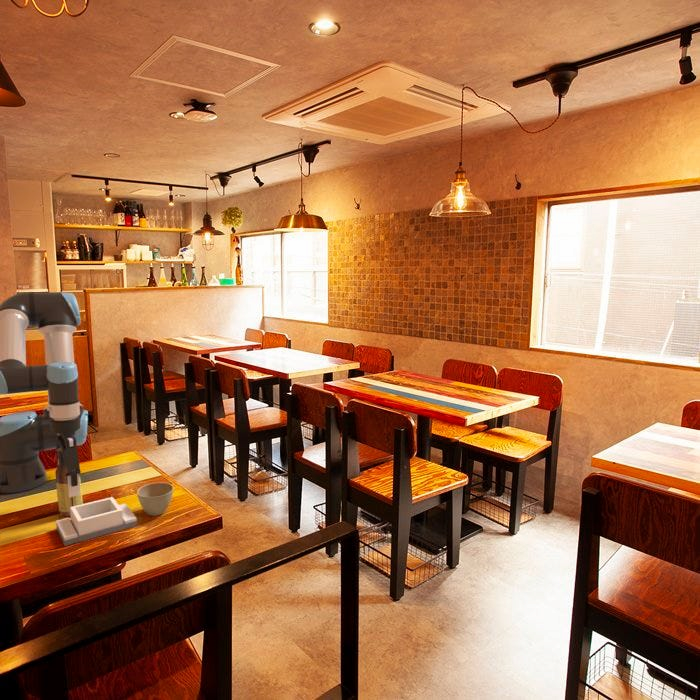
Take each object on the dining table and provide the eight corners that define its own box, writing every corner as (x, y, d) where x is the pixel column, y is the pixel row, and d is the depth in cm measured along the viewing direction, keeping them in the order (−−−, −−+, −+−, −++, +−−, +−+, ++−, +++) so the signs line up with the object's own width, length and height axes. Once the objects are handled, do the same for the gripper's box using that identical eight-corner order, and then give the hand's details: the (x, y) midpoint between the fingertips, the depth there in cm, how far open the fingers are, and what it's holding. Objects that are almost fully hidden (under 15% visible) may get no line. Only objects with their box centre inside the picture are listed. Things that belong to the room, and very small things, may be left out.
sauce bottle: (81, 505, 155) (77, 442, 151) (85, 513, 150) (81, 448, 147) (56, 511, 151) (52, 446, 148) (59, 519, 146) (55, 453, 143)
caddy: (56, 528, 141) (55, 509, 140) (125, 510, 152) (124, 493, 151) (64, 546, 133) (63, 526, 132) (137, 525, 144) (136, 507, 143)
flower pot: (139, 506, 155) (138, 484, 154) (174, 502, 158) (173, 480, 157) (136, 522, 146) (135, 498, 145) (173, 518, 149) (172, 494, 148)
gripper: (42, 408, 153) (46, 476, 156) (58, 430, 134) (63, 507, 137) (70, 405, 157) (74, 470, 161) (90, 425, 138) (93, 499, 142)
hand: (69, 487), depth 149 cm, fingers open, 13 cm apart
